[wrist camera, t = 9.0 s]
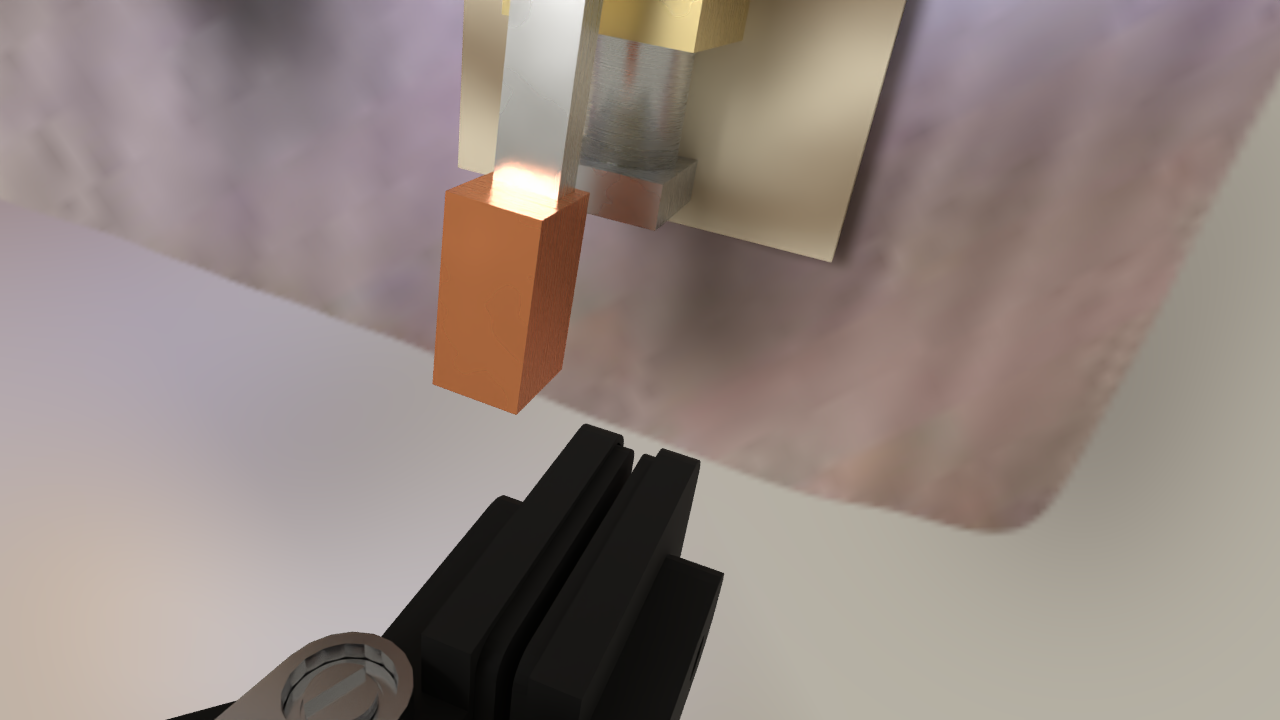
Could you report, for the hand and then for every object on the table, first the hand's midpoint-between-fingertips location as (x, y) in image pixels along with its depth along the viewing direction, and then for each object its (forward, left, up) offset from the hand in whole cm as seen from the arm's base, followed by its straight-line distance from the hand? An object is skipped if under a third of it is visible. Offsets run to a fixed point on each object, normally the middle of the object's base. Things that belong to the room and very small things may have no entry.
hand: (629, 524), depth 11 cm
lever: (-2, -7, -12) cm, 14 cm away
